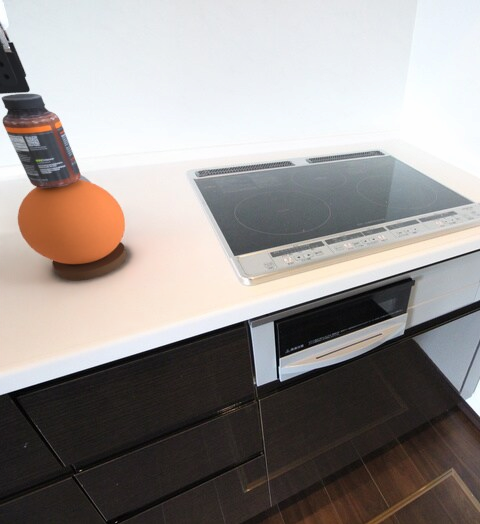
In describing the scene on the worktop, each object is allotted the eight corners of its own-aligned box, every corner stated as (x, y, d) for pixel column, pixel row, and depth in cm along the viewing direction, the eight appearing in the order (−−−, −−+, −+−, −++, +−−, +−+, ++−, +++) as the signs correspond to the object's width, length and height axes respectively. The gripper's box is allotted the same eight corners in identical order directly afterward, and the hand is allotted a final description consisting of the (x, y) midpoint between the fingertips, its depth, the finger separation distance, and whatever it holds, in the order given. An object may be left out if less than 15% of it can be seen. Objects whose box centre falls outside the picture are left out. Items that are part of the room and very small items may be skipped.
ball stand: (47, 297, 52) (-2, 211, 44) (41, 255, 60) (-2, 175, 52) (145, 268, 59) (117, 188, 51) (128, 233, 67) (101, 160, 59)
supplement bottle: (71, 171, 55) (40, 90, 49) (90, 181, 52) (59, 96, 46) (24, 182, 51) (-17, 94, 45) (41, 193, 48) (0, 101, 42)
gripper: (-114, -108, 38) (-25, 74, 48) (-160, -142, 27) (-33, 102, 37) (-19, -94, 42) (45, 72, 52) (-26, -118, 31) (56, 97, 41)
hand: (12, 84), depth 44 cm, fingers open, 9 cm apart
